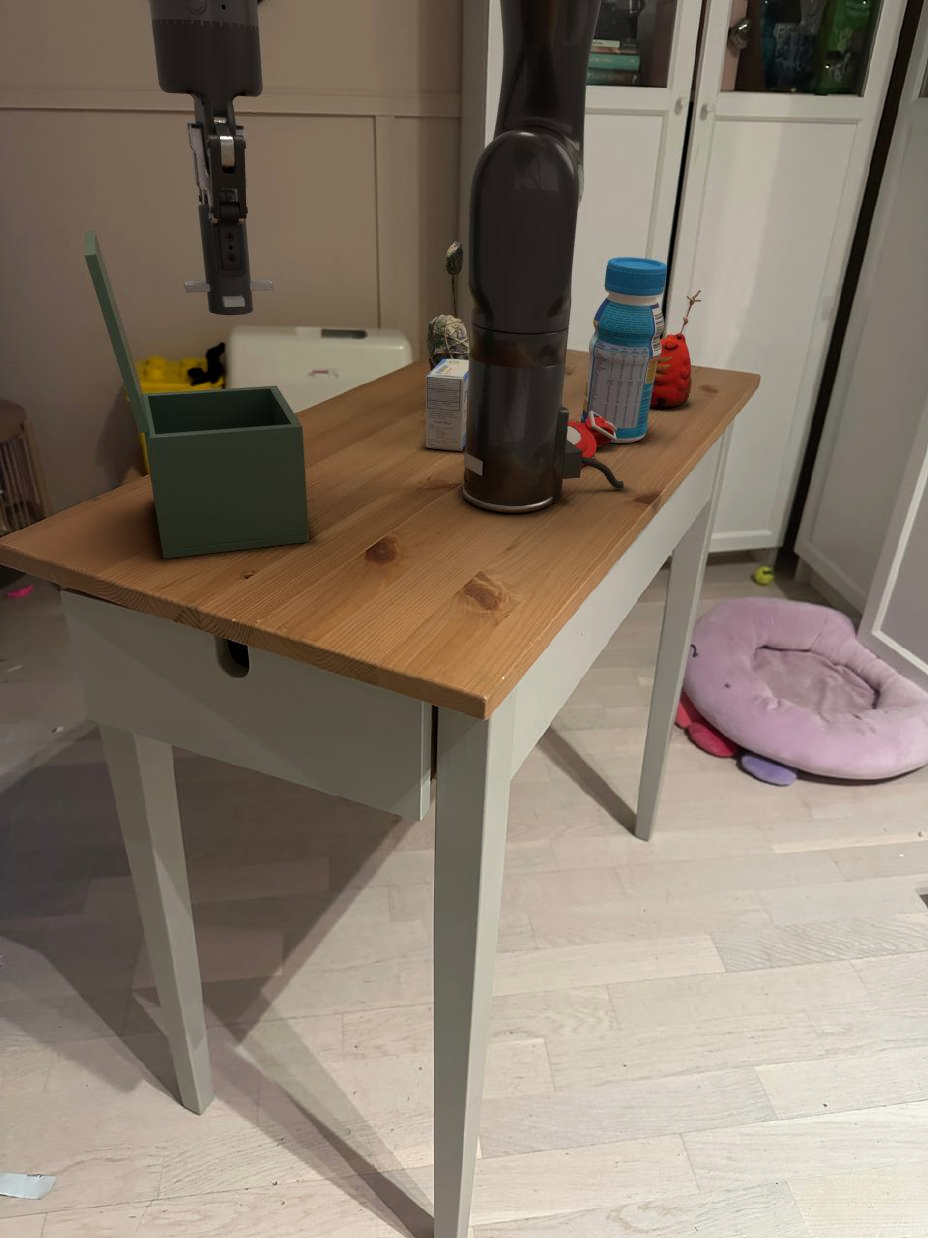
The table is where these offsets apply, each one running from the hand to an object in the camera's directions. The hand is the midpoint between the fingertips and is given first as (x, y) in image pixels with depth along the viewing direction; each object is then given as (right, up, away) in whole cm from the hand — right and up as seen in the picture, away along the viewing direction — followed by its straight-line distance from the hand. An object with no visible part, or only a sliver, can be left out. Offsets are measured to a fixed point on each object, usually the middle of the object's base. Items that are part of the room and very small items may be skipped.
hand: (228, 270), depth 73 cm
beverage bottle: (+38, -6, +37) cm, 53 cm away
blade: (0, -3, +2) cm, 3 cm away
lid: (-8, -5, -1) cm, 10 cm away
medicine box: (+18, -7, +33) cm, 38 cm away
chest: (-3, -19, +11) cm, 22 cm away
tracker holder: (+32, -10, +30) cm, 45 cm away
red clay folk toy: (+47, +1, +50) cm, 68 cm away
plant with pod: (+18, -1, +44) cm, 48 cm away
